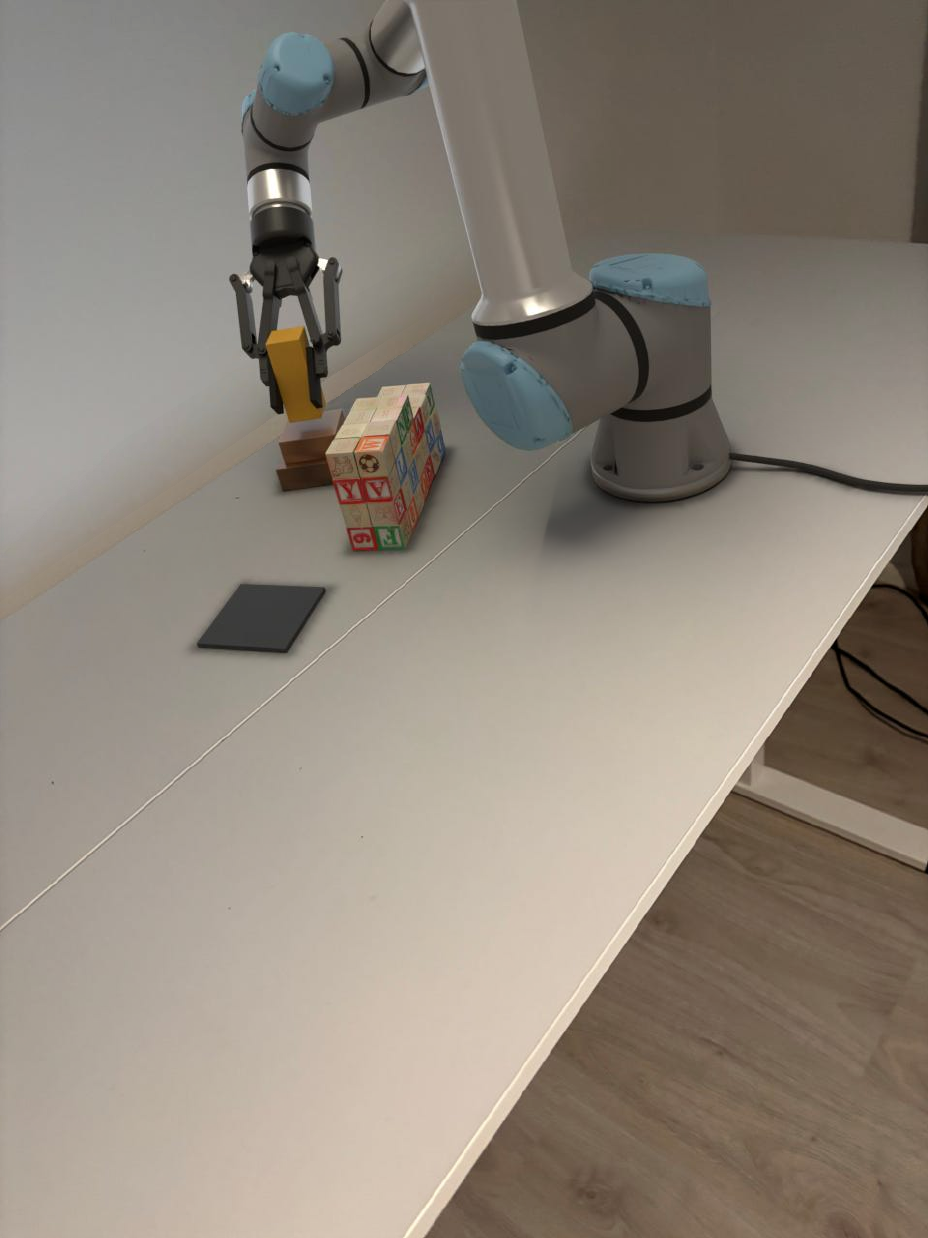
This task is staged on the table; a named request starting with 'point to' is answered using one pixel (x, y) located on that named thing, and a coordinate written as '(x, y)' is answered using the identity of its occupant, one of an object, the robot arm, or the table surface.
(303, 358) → the bar
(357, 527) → the stack of blocks
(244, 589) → the mat
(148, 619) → the table surface
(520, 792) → the table surface
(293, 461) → the dark wooden step block
